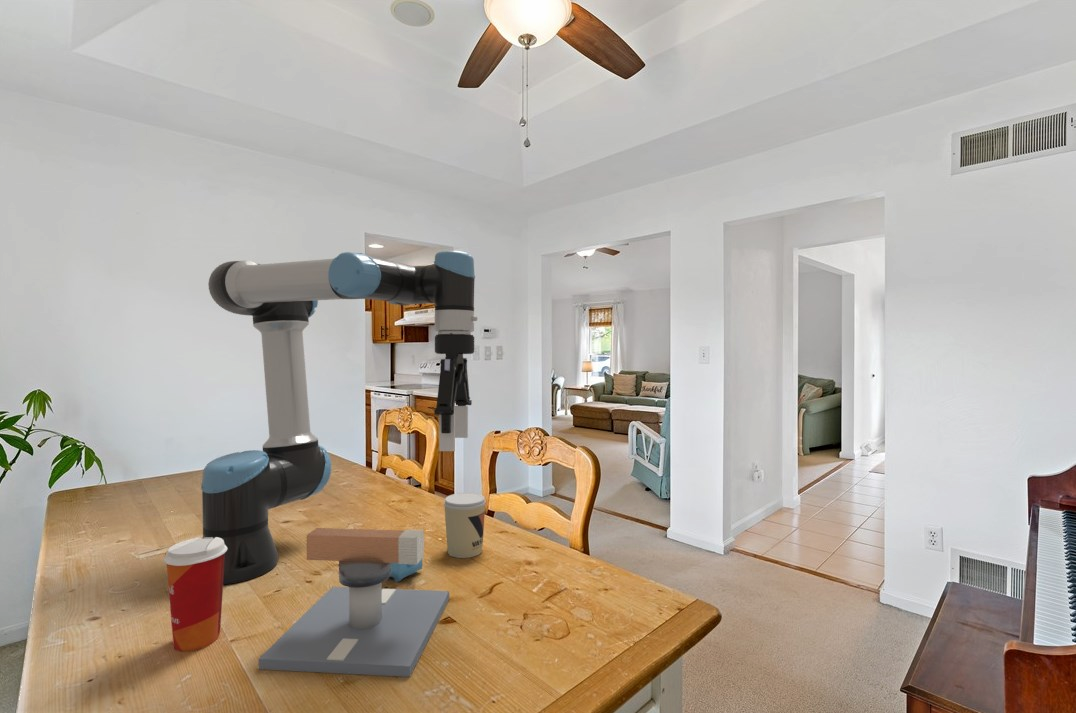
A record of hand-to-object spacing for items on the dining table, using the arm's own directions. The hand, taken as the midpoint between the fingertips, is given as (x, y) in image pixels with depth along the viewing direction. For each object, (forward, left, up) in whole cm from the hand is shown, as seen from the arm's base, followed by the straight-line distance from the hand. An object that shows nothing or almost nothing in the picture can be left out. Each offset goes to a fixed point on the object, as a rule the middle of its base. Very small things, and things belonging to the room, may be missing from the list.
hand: (454, 443), depth 98 cm
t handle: (-11, -17, -19) cm, 27 cm away
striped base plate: (-11, -17, -27) cm, 34 cm away
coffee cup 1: (-36, -22, -28) cm, 50 cm away
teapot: (-12, +3, -28) cm, 30 cm away
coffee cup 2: (-2, +16, -28) cm, 32 cm away
